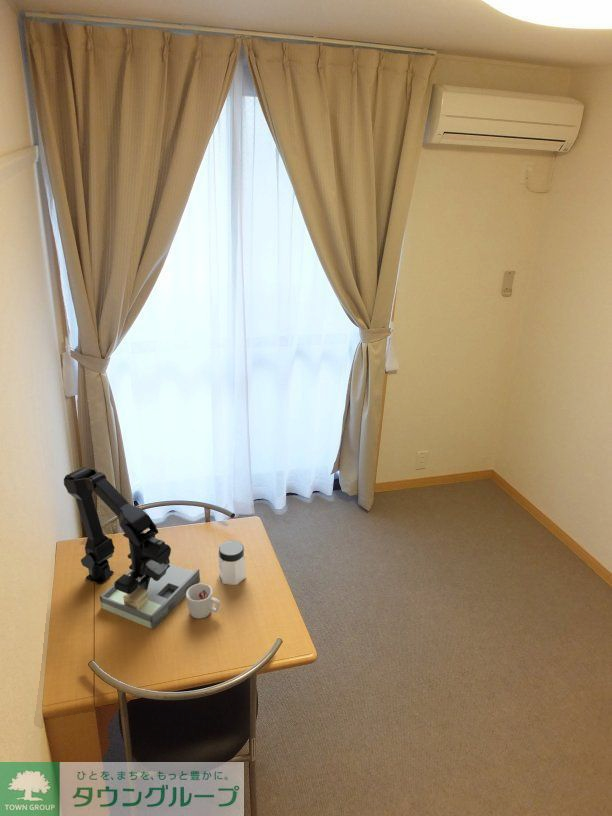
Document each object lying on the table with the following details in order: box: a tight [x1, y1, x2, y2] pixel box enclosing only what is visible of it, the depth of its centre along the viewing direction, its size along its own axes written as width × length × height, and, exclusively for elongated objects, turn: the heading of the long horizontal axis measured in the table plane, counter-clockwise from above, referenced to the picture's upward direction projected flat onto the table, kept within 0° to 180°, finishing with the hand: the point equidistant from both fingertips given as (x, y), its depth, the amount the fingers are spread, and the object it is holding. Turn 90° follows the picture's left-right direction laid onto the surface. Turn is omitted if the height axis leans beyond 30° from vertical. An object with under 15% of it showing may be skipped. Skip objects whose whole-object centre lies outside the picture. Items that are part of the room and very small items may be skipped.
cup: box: [185, 583, 221, 619], centre depth 167 cm, size 11×8×8 cm
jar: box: [218, 539, 246, 586], centre depth 181 cm, size 9×8×12 cm
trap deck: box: [99, 563, 201, 630], centre depth 175 cm, size 20×24×4 cm
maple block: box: [123, 587, 148, 610], centre depth 167 cm, size 5×5×4 cm
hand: (144, 591), depth 172 cm, fingers closed
